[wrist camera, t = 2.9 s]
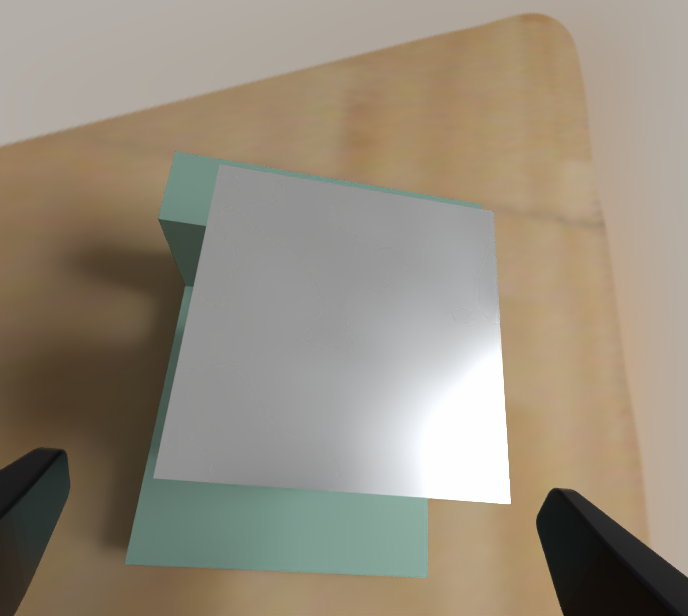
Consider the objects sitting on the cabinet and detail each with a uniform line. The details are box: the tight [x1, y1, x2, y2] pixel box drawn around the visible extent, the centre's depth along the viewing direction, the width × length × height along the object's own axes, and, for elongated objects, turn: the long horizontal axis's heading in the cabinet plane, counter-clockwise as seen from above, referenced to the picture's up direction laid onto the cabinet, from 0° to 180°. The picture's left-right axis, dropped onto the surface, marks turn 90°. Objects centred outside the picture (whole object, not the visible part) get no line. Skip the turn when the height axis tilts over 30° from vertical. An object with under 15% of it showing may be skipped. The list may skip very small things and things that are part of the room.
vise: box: [125, 151, 481, 578], centre depth 15 cm, size 12×10×7 cm
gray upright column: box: [153, 164, 510, 504], centre depth 12 cm, size 5×5×10 cm
